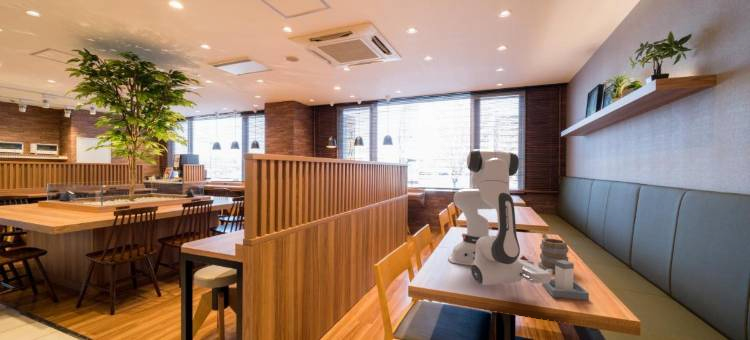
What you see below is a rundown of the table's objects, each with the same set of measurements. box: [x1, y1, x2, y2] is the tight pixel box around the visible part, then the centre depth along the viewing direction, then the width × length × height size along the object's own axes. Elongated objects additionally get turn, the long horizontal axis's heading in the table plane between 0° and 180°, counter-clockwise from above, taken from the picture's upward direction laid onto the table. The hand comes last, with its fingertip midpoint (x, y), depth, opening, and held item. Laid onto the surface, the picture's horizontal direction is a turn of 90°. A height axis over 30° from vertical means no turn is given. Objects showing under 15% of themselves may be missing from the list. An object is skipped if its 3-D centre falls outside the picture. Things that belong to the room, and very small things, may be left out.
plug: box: [554, 260, 575, 291], centre depth 124 cm, size 4×4×12 cm
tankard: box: [537, 233, 569, 274], centre depth 156 cm, size 20×13×15 cm, turn 168°
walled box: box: [541, 278, 590, 302], centre depth 124 cm, size 13×13×3 cm
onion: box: [519, 255, 530, 261], centre depth 148 cm, size 6×6×8 cm
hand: (541, 267), depth 122 cm, fingers open, 8 cm apart
